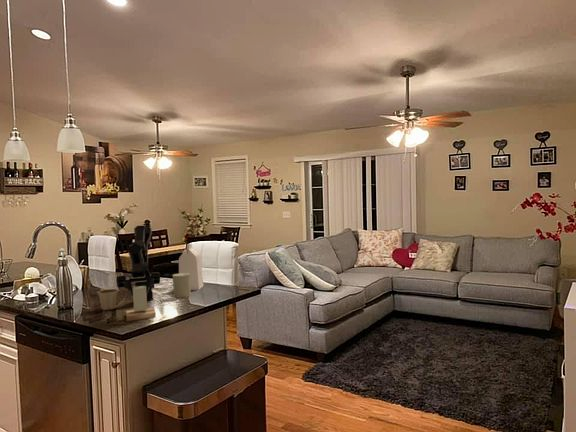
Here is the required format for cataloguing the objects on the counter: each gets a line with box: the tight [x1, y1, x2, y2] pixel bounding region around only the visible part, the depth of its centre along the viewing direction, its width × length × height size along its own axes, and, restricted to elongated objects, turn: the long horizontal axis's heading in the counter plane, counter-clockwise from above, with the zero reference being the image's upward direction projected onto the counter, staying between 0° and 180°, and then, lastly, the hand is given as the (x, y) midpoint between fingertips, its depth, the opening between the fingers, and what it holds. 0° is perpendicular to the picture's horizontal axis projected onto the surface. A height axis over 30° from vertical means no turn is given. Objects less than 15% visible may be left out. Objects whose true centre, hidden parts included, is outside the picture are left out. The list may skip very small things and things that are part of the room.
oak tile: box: [125, 306, 157, 322], centre depth 195 cm, size 12×12×2 cm
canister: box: [132, 285, 148, 311], centre depth 195 cm, size 6×6×10 cm
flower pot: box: [96, 288, 119, 311], centre depth 212 cm, size 9×9×9 cm
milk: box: [178, 243, 204, 291], centre depth 256 cm, size 12×12×26 cm
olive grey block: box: [172, 272, 192, 299], centre depth 235 cm, size 9×9×12 cm
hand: (139, 295), depth 193 cm, fingers closed on canister, 5 cm apart
